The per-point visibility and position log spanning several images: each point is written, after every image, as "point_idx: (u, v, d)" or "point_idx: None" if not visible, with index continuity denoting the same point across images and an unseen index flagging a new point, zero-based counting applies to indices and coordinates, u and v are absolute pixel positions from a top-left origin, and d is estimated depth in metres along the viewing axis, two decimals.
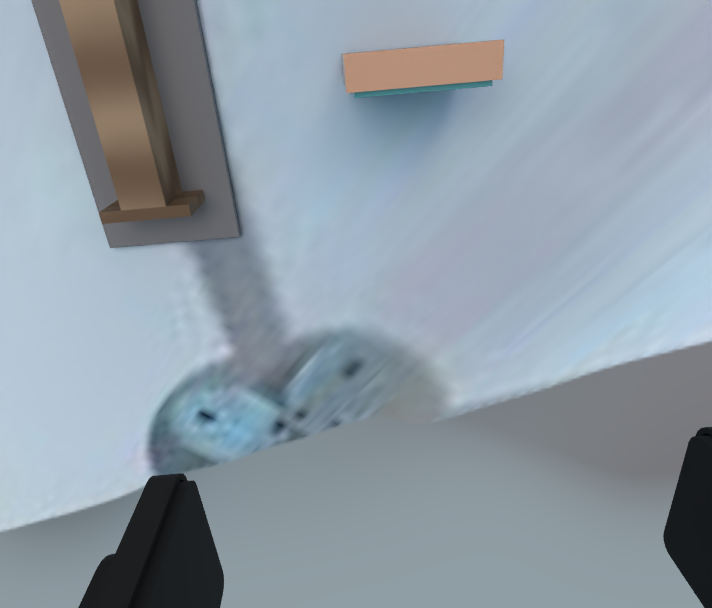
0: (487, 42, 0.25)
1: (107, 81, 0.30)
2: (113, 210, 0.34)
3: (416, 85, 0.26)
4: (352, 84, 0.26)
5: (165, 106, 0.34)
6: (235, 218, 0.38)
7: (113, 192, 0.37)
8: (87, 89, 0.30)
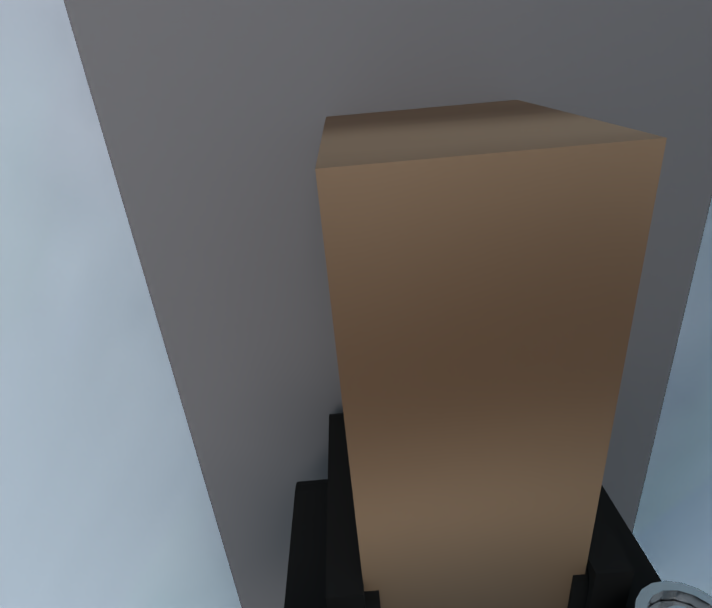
0: None
1: None
2: None
3: None
4: None
5: None
6: None
7: None
8: None
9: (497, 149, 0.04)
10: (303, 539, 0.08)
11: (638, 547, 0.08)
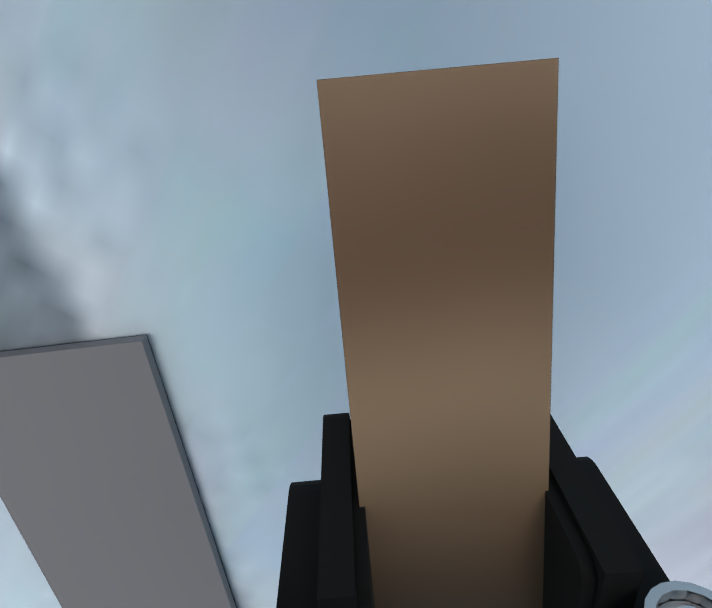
0: None
1: None
2: None
3: None
4: None
5: (157, 562, 0.29)
6: None
7: None
8: None
9: None
10: (296, 540, 0.08)
11: (646, 547, 0.08)
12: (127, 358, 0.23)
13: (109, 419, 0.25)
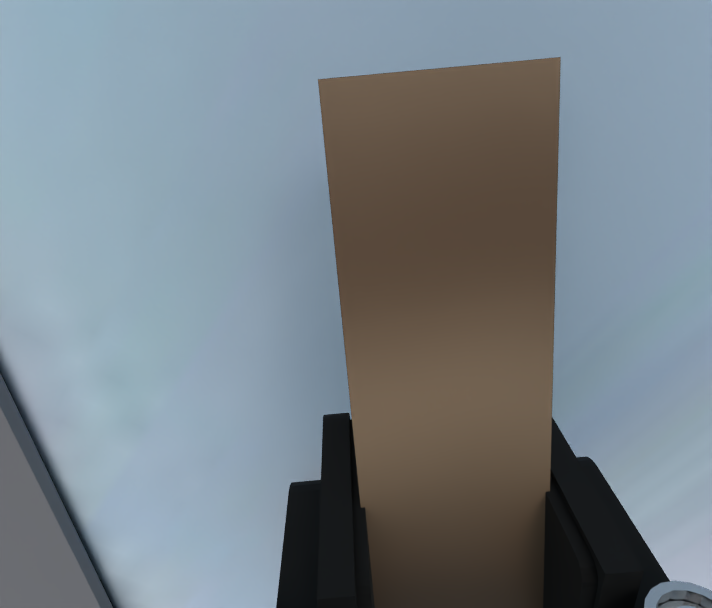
0: None
1: None
2: None
3: None
4: None
5: None
6: None
7: None
8: None
9: None
10: (296, 540, 0.08)
11: (646, 547, 0.08)
12: None
13: None
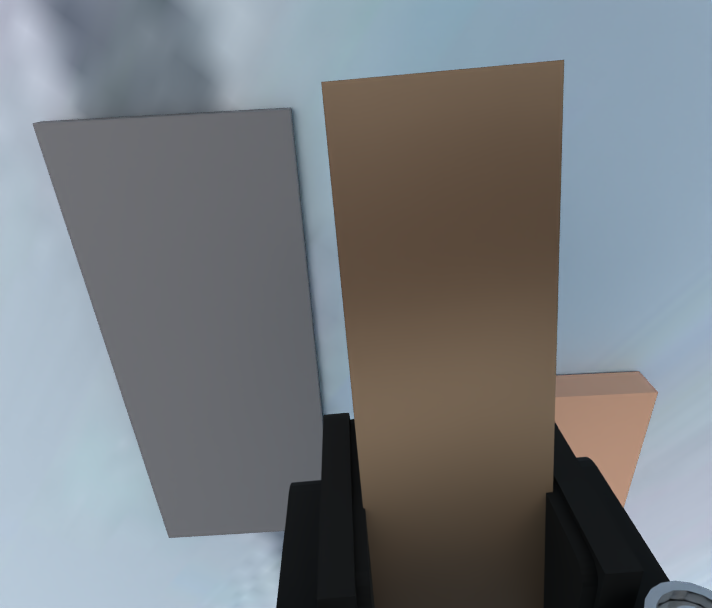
0: None
1: None
2: None
3: None
4: None
5: (256, 405, 0.26)
6: None
7: (179, 487, 0.29)
8: None
9: None
10: (296, 540, 0.08)
11: (646, 547, 0.08)
12: (270, 132, 0.20)
13: (235, 214, 0.21)
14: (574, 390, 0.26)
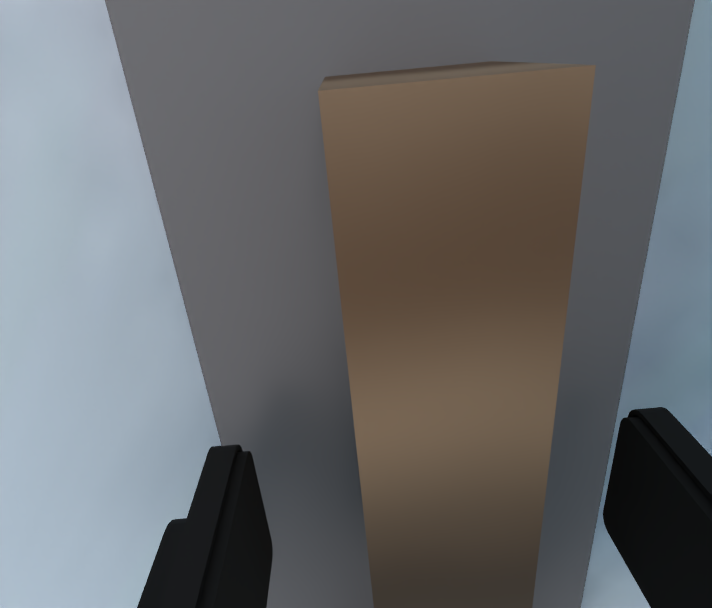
0: None
1: None
2: None
3: None
4: None
5: None
6: None
7: None
8: None
9: None
10: (157, 588, 0.08)
11: None
12: None
13: None
14: None
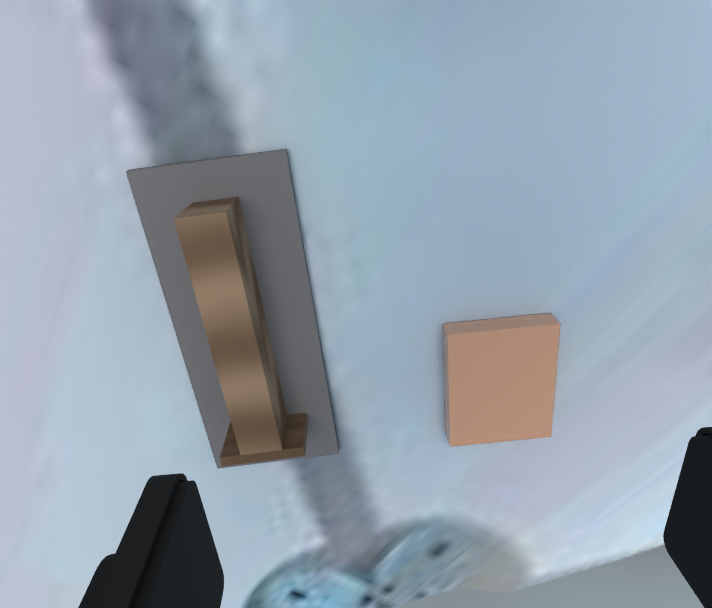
0: (540, 437, 0.40)
1: (236, 358, 0.32)
2: (232, 454, 0.36)
3: None
4: None
5: (276, 356, 0.37)
6: (335, 439, 0.40)
7: (224, 425, 0.39)
8: (217, 365, 0.32)
9: (202, 214, 0.29)
10: None
11: None
12: (273, 165, 0.31)
13: (254, 220, 0.33)
14: (501, 326, 0.36)
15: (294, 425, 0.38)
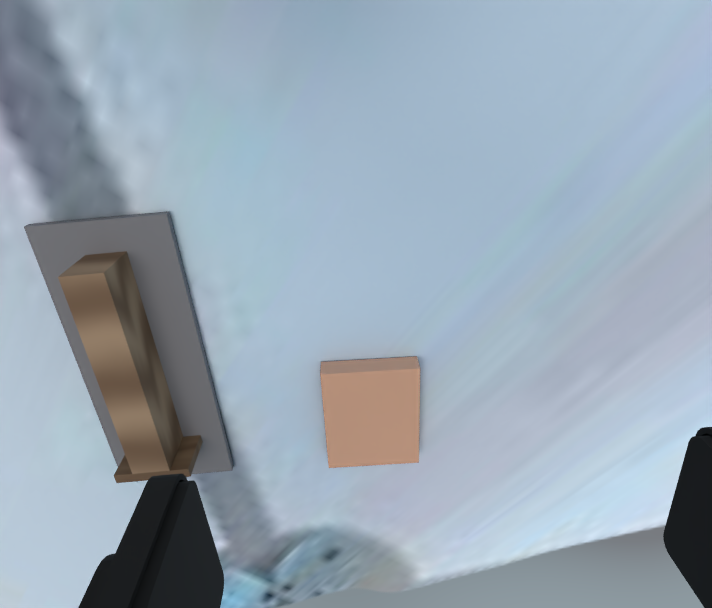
0: (409, 462, 0.45)
1: (122, 393, 0.37)
2: (126, 472, 0.40)
3: None
4: None
5: (170, 386, 0.41)
6: (229, 458, 0.45)
7: None
8: (105, 399, 0.37)
9: (84, 273, 0.33)
10: None
11: None
12: (156, 226, 0.35)
13: (142, 271, 0.37)
14: (369, 368, 0.41)
15: (186, 447, 0.42)
